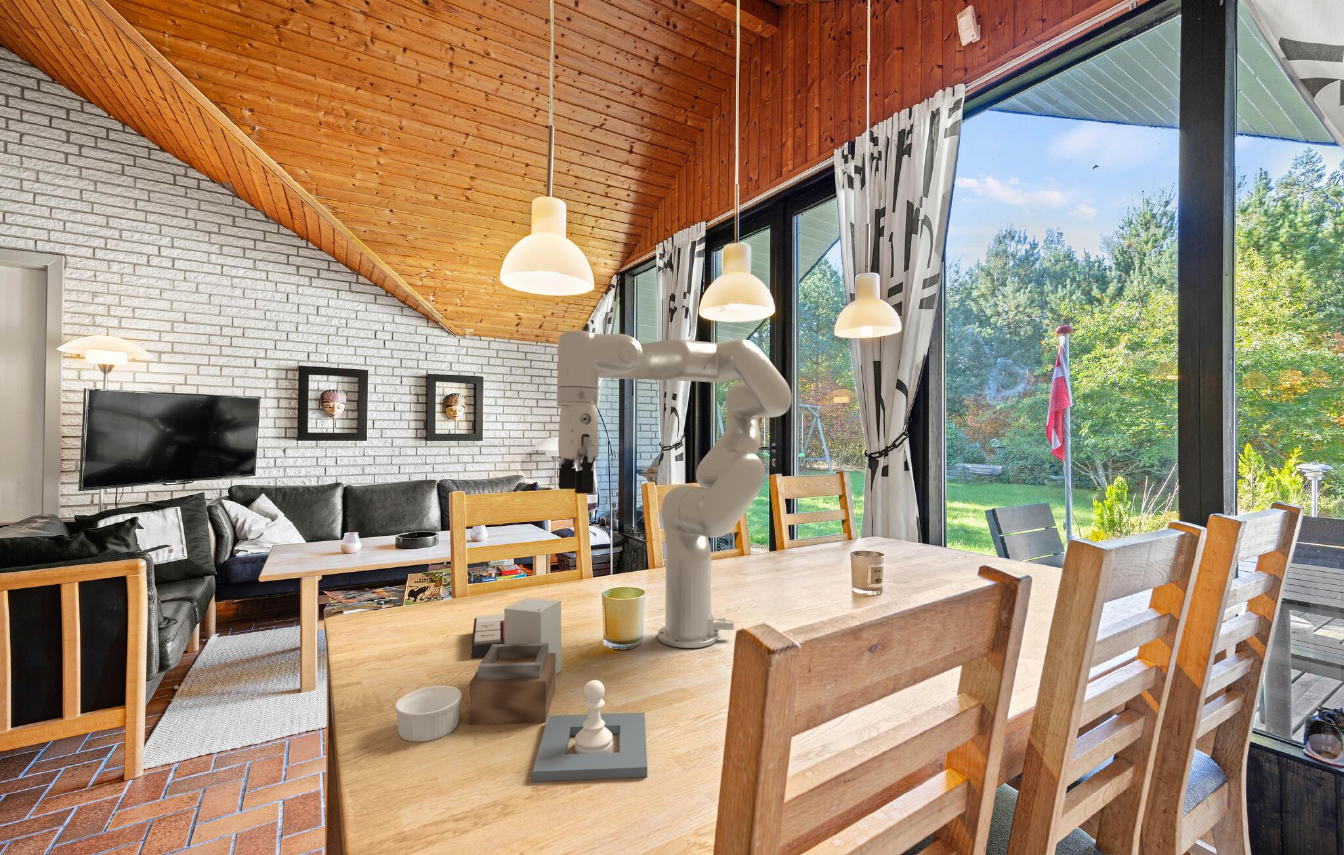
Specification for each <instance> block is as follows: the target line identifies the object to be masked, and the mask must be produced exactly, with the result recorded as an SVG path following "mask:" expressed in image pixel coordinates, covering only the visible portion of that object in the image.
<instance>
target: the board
mask: <svg viewBox="0 0 1344 855" xmlns="http://www.w3.org/2000/svg"><path fill="white" fill-rule="evenodd" d="M600 715H601V719H602V720H603V721H604V722H605V726H604V727H606V728H607V729H608V730H609V731H610V732H611V733H612V735H617V734H618V735H619V752H609V753H592V754H577V753H575V754H574V753H573V754H571V753H568V749H569V744H570V738H571V736H576V735H577V734H578V733H579V732H580V731H581V730H582V729H583V728H584V727H583V723H584V722H585V721H586V720H587V716H588V713H585V714H584V713H583V714H557V715H556V714H555V715H554V714H553V715H552V714H551V715H549V714H548V716H547V719H546V722H545V723H546V724H545V727H544V731H543V734H542V737H541V741H540V744H539V747H538V752H537V754H536V758H535V761H534V764H533V769H532V771H531V773H532V774H531V775H532V777H531V778H532V779H531V781H532V782H551V781H552V782H554V781H557V782H558V781H577V780H601V779H602V780H603V779H604V780H605V779H607V780H608V779H627V778H631V779H632V778H648V757H647V756H648V753H647V737H646V736H647V735H646V720H645V719H646V718H645V712H641V711H640V712H619V713H618V712H615V713H611V712H610V713H600ZM567 753H568V754H567Z"/></svg>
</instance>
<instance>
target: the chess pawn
mask: <svg viewBox="0 0 1344 855" xmlns="http://www.w3.org/2000/svg"><path fill="white" fill-rule="evenodd" d="M583 696H584V698H585V700H584V702H583V704H582V705H583V708H585V709H587V714H588V716H587V720H586V721H585V722H584V723H583V727H584V728H583V729H582V730H581V731H580V732H579V733H578V734H577V735H575V738H574V740H575V744H574V750H575V752H576V754H592V753H611V751H612V748H613V734H612V733H611V732H610V731H609V730H608V729H607V728H606V727H604V726H605V722H604V721H603V720H602V719H601V715H600V714H601V708H603V706H605V703H606V702H605V701H604V699H603V698H604V696H605V686H604V684H603V682H601V681H600V680H597V679H592V680H590V681H588V682H587V683H586V684H585V685H584V688H583Z"/></svg>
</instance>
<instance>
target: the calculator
mask: <svg viewBox="0 0 1344 855" xmlns="http://www.w3.org/2000/svg"><path fill="white" fill-rule="evenodd" d="M493 644H505V615H504V614H503V613H502V614H491V615H479V616H476V617H475V618H474V620H473V629H472V638H471V649H470V651H471V652H470V653H471V656H470V657H471V659H473V660H474V659H484V657H485V656H486V654H487V653H488V651H489V649H490V648H491V646H492V645H493Z"/></svg>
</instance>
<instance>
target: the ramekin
mask: <svg viewBox="0 0 1344 855" xmlns="http://www.w3.org/2000/svg"><path fill="white" fill-rule="evenodd" d="M462 698H463V692H462V690H460V688H458V687H455V686H450V685H432V686H427V687H421V688H419V689H415V690H413V691H410V692H408V693H406V694H404V695H403V696H401V697H400V698H399V699H398V700H397V701H396V702H395V705H394V710H395V712H396V718H397V719H396V720H397V728H398V729H397V730H398V731H397V732H398V735H399V737H402V738H401V739H403V740H405V739H406V740H405V741H407V740H408V741H407V742H411V741H425V742H429V740H431V741H433V739H435V740H438V739H440V737H441V738H443V737H445V736H447V735H449V734H450V733H452V732H453V731H454V730H455V729H457V727H458V724H459V722H460V721H459V719H460V708H461V701H462ZM437 738H438V739H437Z"/></svg>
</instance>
